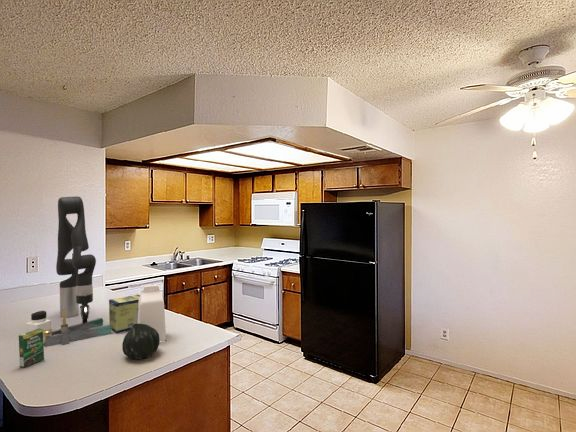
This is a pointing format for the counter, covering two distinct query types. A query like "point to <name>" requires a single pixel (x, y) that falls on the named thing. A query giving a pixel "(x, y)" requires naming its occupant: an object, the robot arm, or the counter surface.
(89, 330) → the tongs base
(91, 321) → the tong arm
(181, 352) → the counter surface
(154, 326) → the milk
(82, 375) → the counter surface
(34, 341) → the coffee box
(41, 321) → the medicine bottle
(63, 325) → the lock pin
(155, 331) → the squash
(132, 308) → the protein box
